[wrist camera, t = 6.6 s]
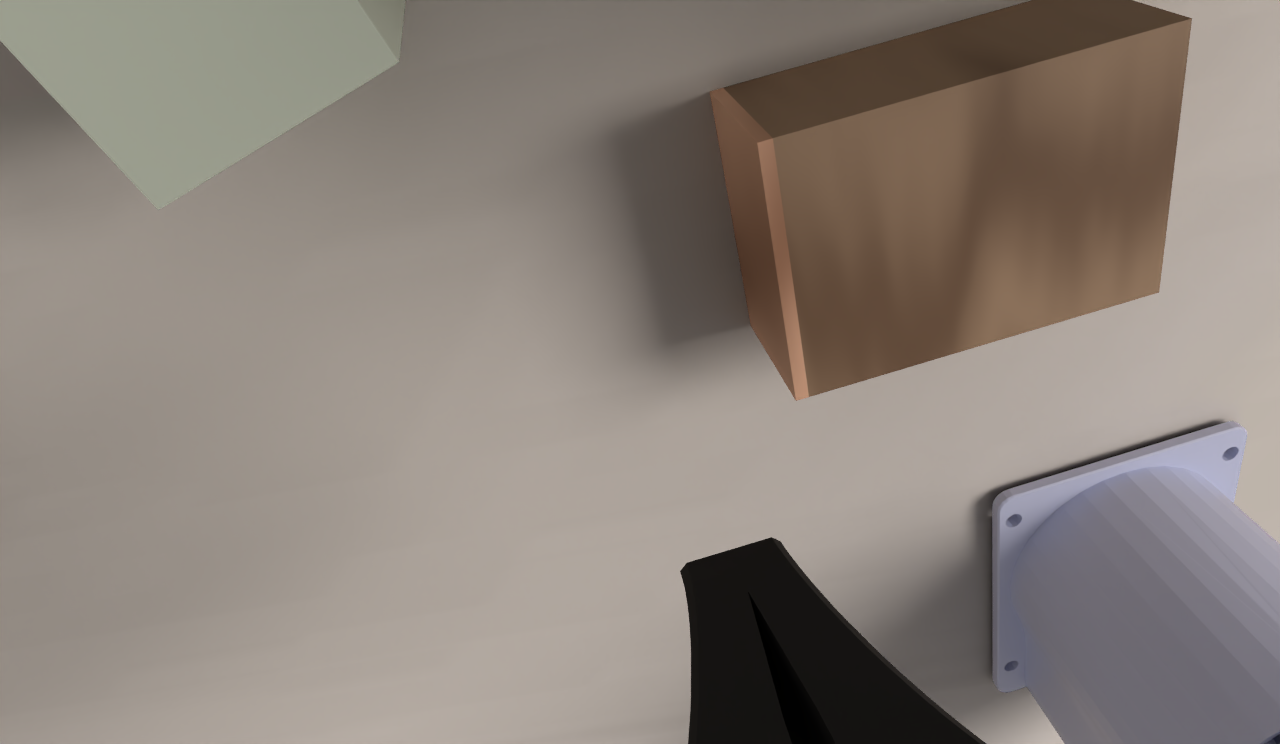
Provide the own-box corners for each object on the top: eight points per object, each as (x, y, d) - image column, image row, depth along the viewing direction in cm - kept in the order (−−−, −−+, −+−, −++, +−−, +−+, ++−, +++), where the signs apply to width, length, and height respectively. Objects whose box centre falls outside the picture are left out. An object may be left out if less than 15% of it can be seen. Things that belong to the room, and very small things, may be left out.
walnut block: (749, 323, 23) (1068, 229, 23) (795, 400, 20) (1158, 292, 21) (708, 90, 20) (1081, -15, 20) (757, 142, 17) (1191, 18, 17)
